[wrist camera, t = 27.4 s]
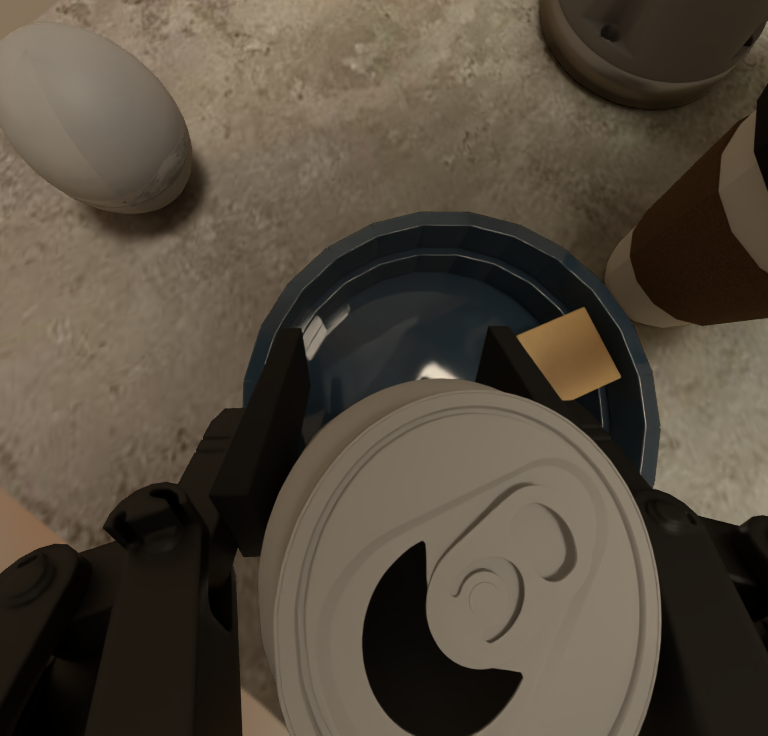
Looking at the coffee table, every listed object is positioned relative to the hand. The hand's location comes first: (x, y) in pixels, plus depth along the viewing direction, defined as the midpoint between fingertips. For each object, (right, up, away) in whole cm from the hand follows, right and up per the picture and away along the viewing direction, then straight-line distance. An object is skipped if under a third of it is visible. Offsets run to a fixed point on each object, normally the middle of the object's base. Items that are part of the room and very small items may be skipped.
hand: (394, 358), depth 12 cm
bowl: (+3, -3, +7) cm, 8 cm away
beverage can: (-1, -6, +4) cm, 7 cm away
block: (+9, 0, +7) cm, 11 cm away
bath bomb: (-16, +12, +9) cm, 21 cm away
